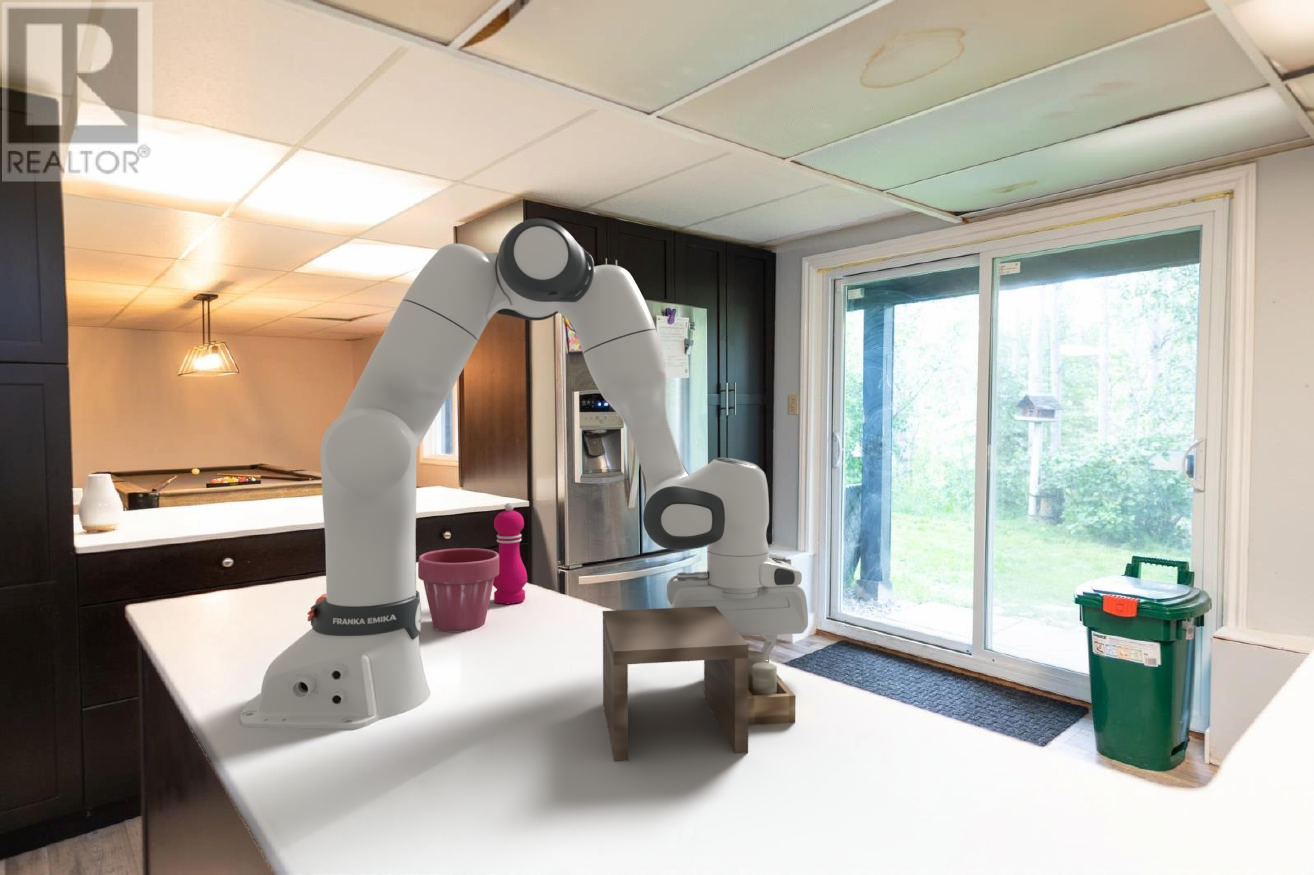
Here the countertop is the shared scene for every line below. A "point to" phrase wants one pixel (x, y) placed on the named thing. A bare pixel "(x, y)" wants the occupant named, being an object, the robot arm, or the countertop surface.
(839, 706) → the countertop surface
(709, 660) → the brown wooden side table
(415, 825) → the countertop surface
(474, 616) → the plant pot
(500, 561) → the pepper mill
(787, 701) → the teak tray
